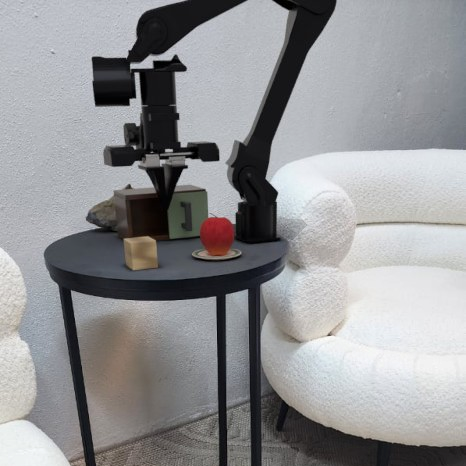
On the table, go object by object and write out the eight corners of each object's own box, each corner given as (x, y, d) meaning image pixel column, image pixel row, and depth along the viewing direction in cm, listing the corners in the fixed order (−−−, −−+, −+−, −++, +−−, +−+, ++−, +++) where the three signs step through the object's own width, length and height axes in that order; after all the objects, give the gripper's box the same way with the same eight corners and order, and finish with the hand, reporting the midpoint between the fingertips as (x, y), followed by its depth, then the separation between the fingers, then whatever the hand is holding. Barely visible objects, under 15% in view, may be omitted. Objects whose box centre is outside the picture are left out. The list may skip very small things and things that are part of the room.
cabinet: (192, 229, 134) (190, 184, 130) (207, 235, 128) (205, 188, 123) (118, 236, 129) (113, 190, 125) (129, 243, 123) (125, 195, 118)
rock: (136, 217, 140) (141, 182, 131) (143, 242, 139) (149, 208, 130) (81, 221, 137) (82, 185, 128) (88, 247, 136) (89, 213, 126)
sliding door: (207, 234, 127) (206, 191, 123) (216, 238, 124) (214, 193, 120) (169, 238, 125) (166, 194, 121) (176, 242, 121) (173, 196, 118)
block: (150, 262, 109) (148, 236, 107) (158, 267, 105) (156, 240, 103) (125, 265, 107) (123, 238, 105) (133, 270, 104) (130, 243, 102)
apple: (193, 252, 115) (191, 210, 112) (241, 251, 115) (240, 209, 111) (190, 262, 108) (188, 218, 105) (241, 261, 108) (240, 217, 105)
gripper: (195, 104, 120) (199, 200, 128) (90, 106, 114) (101, 207, 122) (219, 104, 111) (221, 208, 119) (107, 107, 105) (117, 216, 113)
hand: (165, 209), depth 119 cm, fingers closed
